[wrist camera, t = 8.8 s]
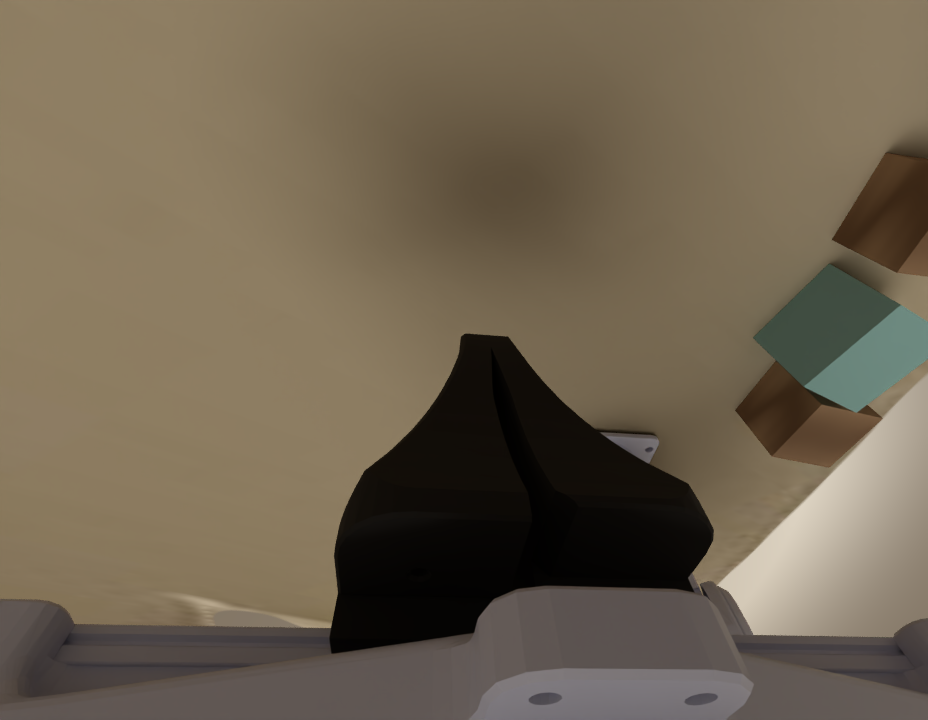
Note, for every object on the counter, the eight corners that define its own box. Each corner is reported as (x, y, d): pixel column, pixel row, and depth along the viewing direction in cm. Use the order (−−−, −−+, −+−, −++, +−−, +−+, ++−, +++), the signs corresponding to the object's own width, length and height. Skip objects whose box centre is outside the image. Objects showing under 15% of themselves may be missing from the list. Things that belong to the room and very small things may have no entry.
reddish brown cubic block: (786, 420, 29) (829, 467, 26) (734, 409, 29) (771, 456, 25) (830, 373, 27) (882, 418, 24) (775, 360, 26) (821, 404, 23)
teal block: (799, 361, 27) (856, 412, 23) (752, 337, 25) (803, 386, 22) (876, 293, 24) (954, 338, 20) (828, 262, 23) (900, 304, 19)
